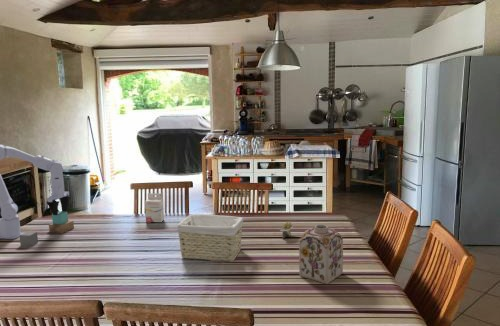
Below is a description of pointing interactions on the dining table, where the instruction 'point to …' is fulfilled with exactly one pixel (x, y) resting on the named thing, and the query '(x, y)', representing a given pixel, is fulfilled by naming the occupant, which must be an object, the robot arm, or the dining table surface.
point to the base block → (61, 227)
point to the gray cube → (28, 238)
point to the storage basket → (210, 237)
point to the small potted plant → (286, 229)
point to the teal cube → (60, 218)
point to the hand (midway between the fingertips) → (60, 212)
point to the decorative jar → (321, 254)
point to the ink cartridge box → (154, 208)
